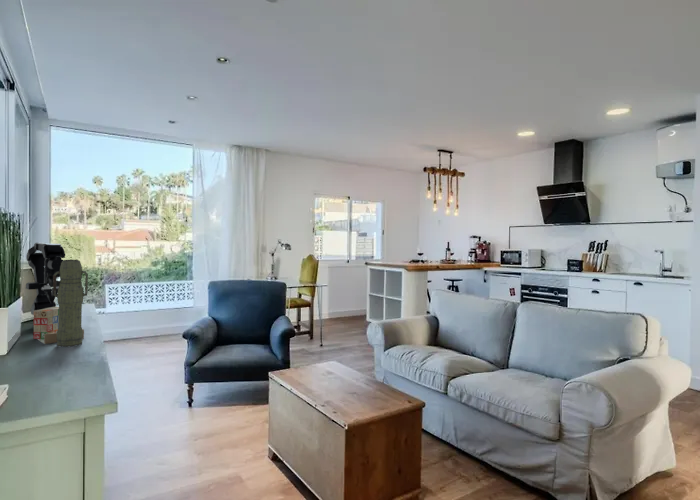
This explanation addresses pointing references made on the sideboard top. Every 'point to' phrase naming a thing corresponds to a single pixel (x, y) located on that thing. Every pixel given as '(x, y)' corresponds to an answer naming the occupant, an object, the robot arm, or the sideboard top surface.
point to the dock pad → (52, 338)
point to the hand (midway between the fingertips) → (51, 303)
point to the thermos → (70, 303)
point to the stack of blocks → (45, 322)
